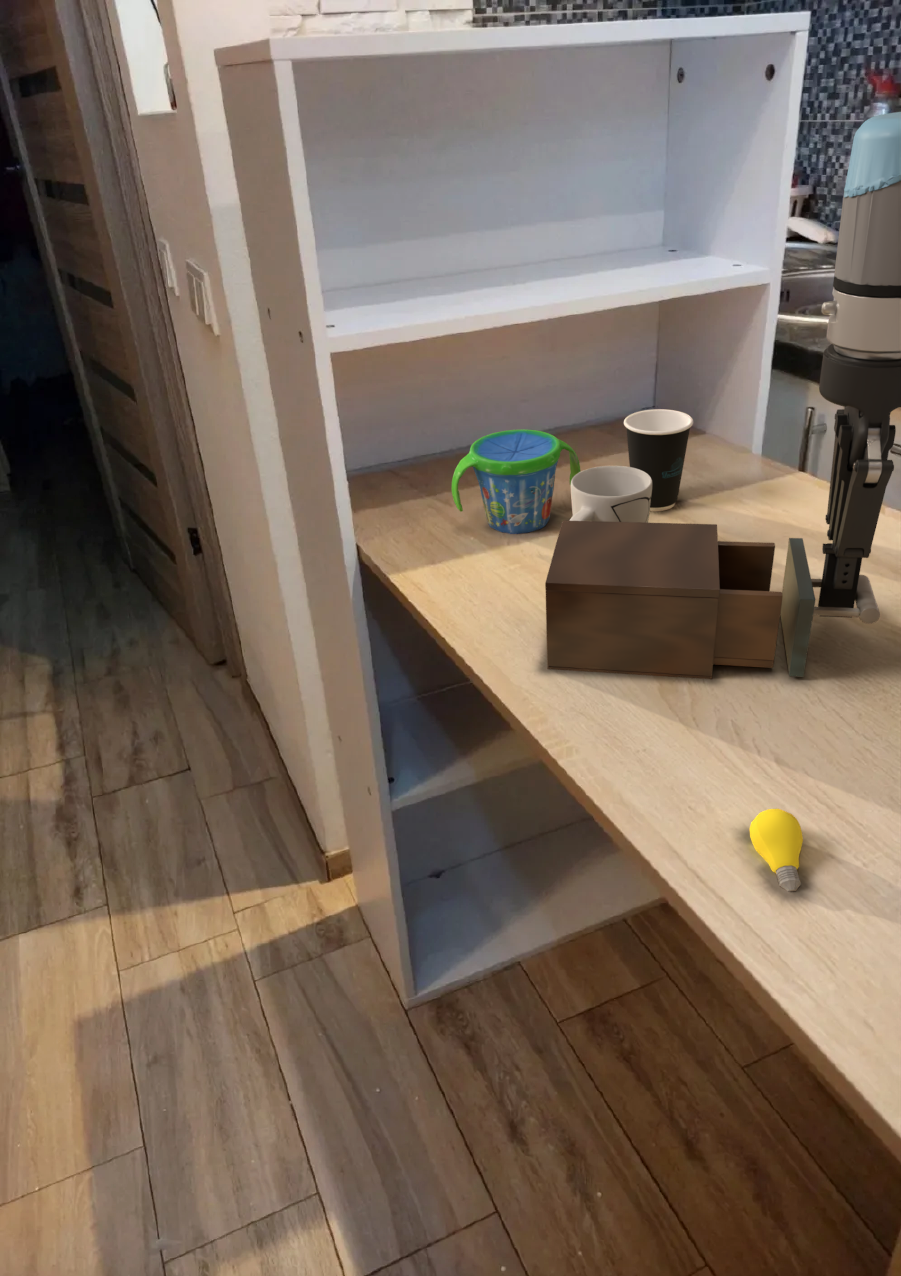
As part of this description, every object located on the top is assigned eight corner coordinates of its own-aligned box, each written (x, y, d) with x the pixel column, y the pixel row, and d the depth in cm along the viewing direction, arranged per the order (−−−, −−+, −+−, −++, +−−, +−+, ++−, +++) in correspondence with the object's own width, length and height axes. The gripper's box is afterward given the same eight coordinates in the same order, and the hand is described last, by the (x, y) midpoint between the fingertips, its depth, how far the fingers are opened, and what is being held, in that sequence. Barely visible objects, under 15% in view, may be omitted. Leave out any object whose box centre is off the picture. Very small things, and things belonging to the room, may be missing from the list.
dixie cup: (626, 492, 118) (628, 408, 112) (690, 495, 116) (695, 409, 110) (617, 518, 112) (619, 431, 106) (684, 522, 110) (690, 433, 104)
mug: (604, 603, 95) (605, 514, 90) (539, 580, 100) (536, 495, 95) (663, 560, 102) (668, 475, 97) (600, 541, 107) (600, 459, 102)
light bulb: (778, 826, 67) (804, 801, 64) (801, 905, 63) (829, 881, 60) (736, 821, 66) (760, 795, 64) (755, 900, 62) (782, 876, 60)
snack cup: (463, 552, 107) (456, 470, 102) (448, 515, 116) (441, 438, 111) (593, 533, 109) (593, 451, 104) (568, 498, 118) (567, 421, 112)
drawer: (856, 613, 88) (870, 539, 84) (875, 681, 79) (891, 602, 75) (650, 604, 93) (653, 533, 89) (645, 667, 83) (648, 592, 79)
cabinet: (709, 611, 92) (717, 524, 87) (711, 684, 82) (719, 589, 77) (563, 604, 96) (562, 520, 91) (547, 673, 85) (545, 582, 80)
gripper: (815, 325, 76) (784, 576, 89) (835, 372, 66) (796, 650, 78) (914, 322, 75) (868, 579, 87) (951, 370, 64) (892, 654, 77)
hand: (834, 612), depth 83 cm, fingers closed
